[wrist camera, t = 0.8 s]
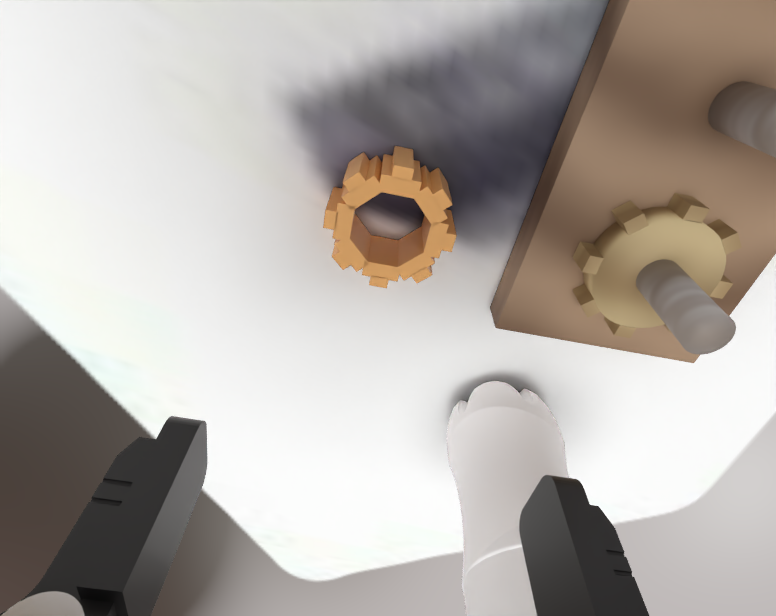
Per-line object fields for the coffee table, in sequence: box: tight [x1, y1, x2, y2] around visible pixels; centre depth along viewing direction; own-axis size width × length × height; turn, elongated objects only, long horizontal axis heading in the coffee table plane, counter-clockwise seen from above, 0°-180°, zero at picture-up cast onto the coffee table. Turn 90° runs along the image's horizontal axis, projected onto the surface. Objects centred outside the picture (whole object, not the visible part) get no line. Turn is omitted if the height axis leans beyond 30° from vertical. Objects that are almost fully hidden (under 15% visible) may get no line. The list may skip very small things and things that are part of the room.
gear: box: [323, 146, 457, 288], centre depth 23 cm, size 6×6×3 cm
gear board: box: [490, 0, 776, 363], centre depth 18 cm, size 26×12×8 cm, turn 169°
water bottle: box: [447, 381, 569, 616], centre depth 22 cm, size 7×7×25 cm
